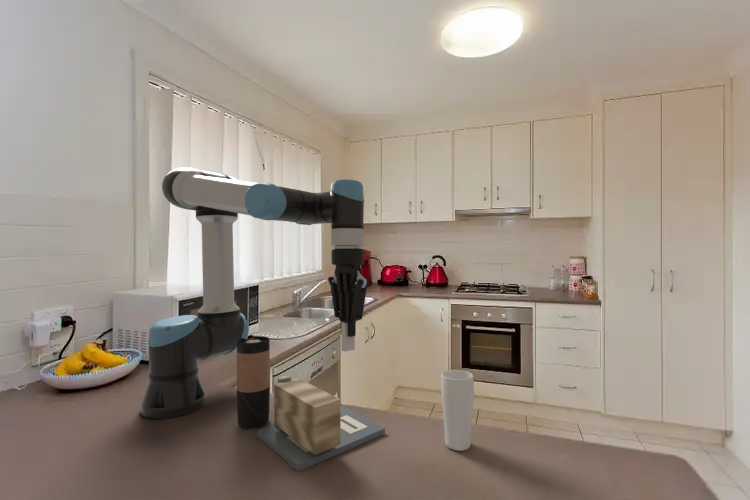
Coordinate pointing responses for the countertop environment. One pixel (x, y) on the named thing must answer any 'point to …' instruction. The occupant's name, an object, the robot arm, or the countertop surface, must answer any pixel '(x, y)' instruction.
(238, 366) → the travel mug
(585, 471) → the countertop surface
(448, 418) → the drinking glass
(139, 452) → the countertop surface
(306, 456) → the label board
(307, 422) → the tan wooden block
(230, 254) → the robot arm
